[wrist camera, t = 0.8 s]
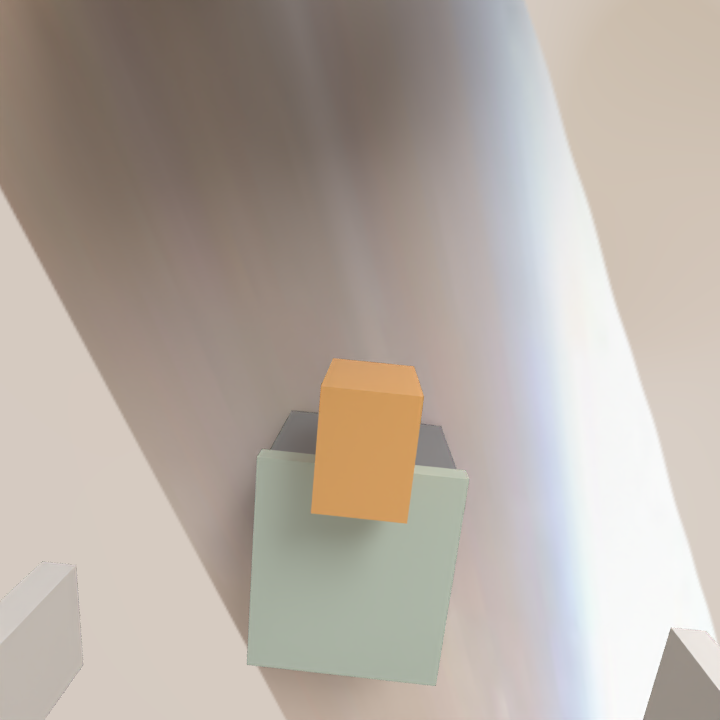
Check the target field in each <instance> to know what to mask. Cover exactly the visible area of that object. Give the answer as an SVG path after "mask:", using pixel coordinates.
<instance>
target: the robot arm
mask: <svg viewBox="0 0 720 720" xmlns="http://www.w3.org/2000/svg"><path fill="white" fill-rule="evenodd" d="M81 640H82V639H81V625H80V612H79V598H78V583H77V569H76V565H72V564H63V563H53V562H41V563H40V564H39V565H38V566H37V567H36V568H35V569H34V570H33V571H32V572H30V573H29V574H28V575H27V576H26V577H25V578H24V579H23V580H22V581H21V582H20V583H19V584H18V585H17V586H15V587H14V588H13V589H12V590H11V591H10V592H9V593H8V594H7V595H6V596H5V597H4V598H3V599H1V601H0V720H45V718H46V717H47V715H48V714H49V713H50V711H51V710H52V708H53V707H54V706H55V704H56V703H57V701H58V700H59V698H60V697H61V696H62V694H63V693H64V691H65V690H66V689H67V687H68V686H69V684H70V683H71V682H72V680H73V679H74V677H75V676H76V675H77V673H78V672H79V670H80V669H81V667H82V666H83V654H82V641H81ZM643 720H720V646H719V645H718V644H717V643H716V642H715V640H714V639H713V638H712V637H711V636H710V634H709V633H708V632H707V631H701V630H691V629H682V628H672V627H671V629H670V632H669V636H668V639H667V642H666V646H665V649H664V652H663V655H662V659H661V662H660V665H659V669H658V672H657V675H656V679H655V682H654V685H653V688H652V692H651V695H650V698H649V702H648V705H647V708H646V711H645V715H644V718H643Z"/></svg>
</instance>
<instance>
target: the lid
mask: <svg viewBox="0 0 720 720" xmlns="http://www.w3.org/2000/svg"><path fill="white" fill-rule="evenodd" d="M423 400H424V396H423V392H422V389H421V386H420V383H419V380H418V377H417V374H416V371H415V368H414V366H405V365H395V364H386V363H376V362H366V361H356V360H346V359H336V358H333V360H332V362H331V364H330V367H329V369H328V371H327V373H326V376H325V378H324V380H323V383H322V385H321V392H320V404H319V417H318V429H317V442H316V455H315V454H306V453H296V452H287V451H277V450H268V449H262V450H261V451H260V453H259V455H258V456H257V467H256V487H255V508H254V528H253V549H252V569H251V590H250V610H249V631H248V651H247V653H248V654H247V665H253V666H262V667H271V668H280V669H288V670H297V671H306V672H315V673H324V674H333V675H342V676H350V677H359V678H368V679H377V680H386V681H395V682H404V683H412V684H421V685H430V686H436V681H437V675H438V669H439V663H440V657H441V650H442V644H443V638H444V632H445V626H446V620H447V613H448V607H449V601H450V595H451V589H452V583H453V577H454V570H455V564H456V558H457V552H458V546H459V540H460V534H461V527H462V521H463V515H464V509H465V503H466V497H467V490H468V484H469V478H468V475H467V473H466V470H458V469H448V468H439V467H429V466H420V465H415V460H416V453H417V445H418V438H419V430H420V422H421V415H422V407H423Z"/></svg>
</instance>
